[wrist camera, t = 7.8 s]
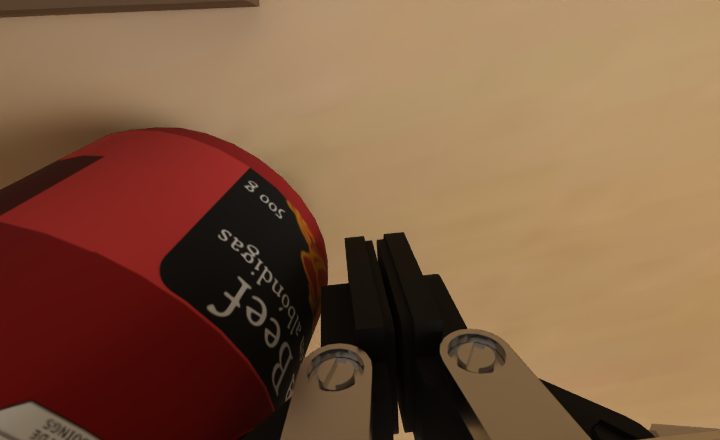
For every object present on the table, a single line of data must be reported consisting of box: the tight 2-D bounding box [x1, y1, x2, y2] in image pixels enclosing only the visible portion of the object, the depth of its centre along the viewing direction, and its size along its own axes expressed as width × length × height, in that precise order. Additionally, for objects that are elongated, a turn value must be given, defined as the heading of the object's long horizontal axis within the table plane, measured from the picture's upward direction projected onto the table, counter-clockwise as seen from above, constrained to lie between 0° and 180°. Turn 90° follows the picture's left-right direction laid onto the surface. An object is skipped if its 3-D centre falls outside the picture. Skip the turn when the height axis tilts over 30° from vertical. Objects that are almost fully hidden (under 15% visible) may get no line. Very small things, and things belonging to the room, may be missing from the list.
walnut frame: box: [0, 0, 305, 399], centre depth 12 cm, size 14×14×2 cm
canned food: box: [0, 128, 328, 440], centre depth 8 cm, size 8×8×11 cm
